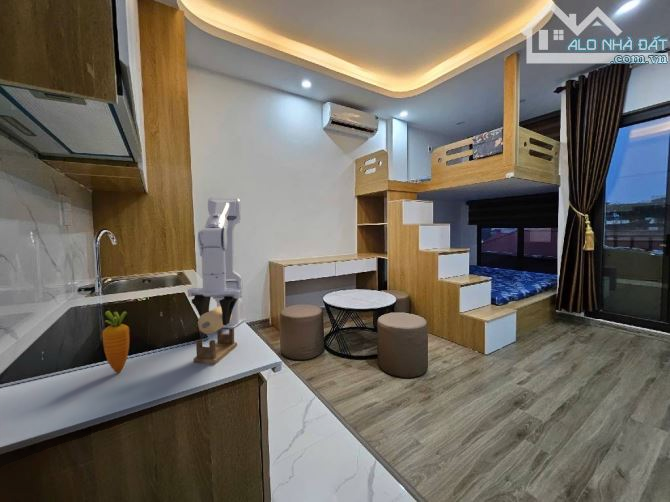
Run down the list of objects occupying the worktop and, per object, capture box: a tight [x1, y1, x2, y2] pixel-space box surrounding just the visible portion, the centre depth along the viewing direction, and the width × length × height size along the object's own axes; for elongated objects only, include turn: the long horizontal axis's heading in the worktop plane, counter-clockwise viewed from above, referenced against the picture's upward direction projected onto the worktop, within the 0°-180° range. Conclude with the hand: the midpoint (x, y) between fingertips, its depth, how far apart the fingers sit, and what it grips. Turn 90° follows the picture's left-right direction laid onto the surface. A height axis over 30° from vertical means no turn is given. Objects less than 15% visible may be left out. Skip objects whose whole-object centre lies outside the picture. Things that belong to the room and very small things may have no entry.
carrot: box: [101, 310, 130, 374], centre depth 66 cm, size 5×5×15 cm
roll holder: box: [193, 327, 238, 365], centre depth 76 cm, size 6×11×6 cm, turn 171°
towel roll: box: [197, 306, 232, 335], centre depth 76 cm, size 6×10×6 cm, turn 171°
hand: (215, 323), depth 76 cm, fingers closed on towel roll, 5 cm apart
